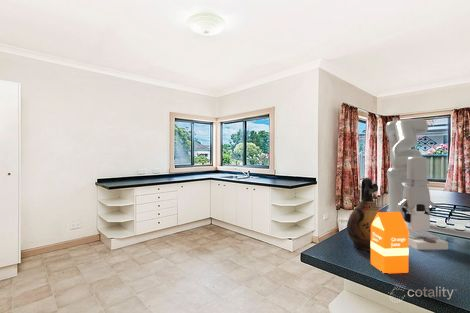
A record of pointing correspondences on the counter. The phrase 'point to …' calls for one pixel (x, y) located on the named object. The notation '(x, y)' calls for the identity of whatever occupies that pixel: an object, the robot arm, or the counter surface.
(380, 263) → the orange juice
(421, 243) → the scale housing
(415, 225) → the medicine bottle
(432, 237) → the scale pan
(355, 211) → the ceramic jug
